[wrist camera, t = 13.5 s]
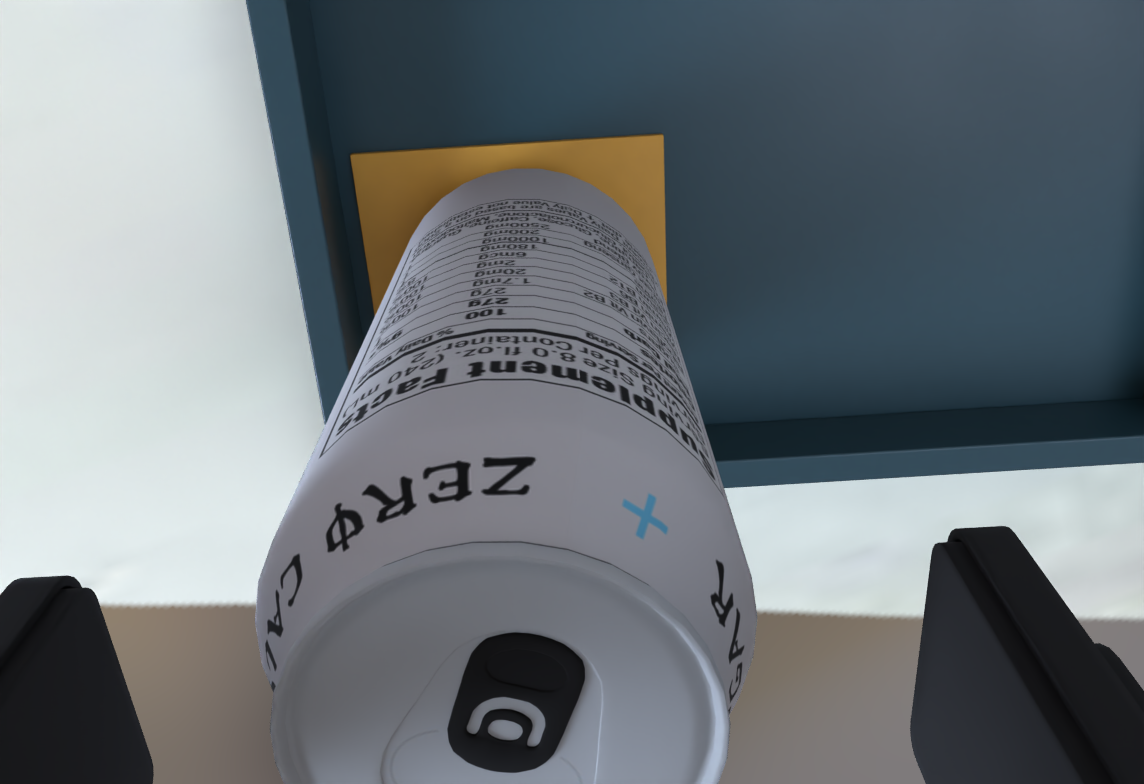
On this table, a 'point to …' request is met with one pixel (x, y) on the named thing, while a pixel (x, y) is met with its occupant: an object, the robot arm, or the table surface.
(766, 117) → the tray
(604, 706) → the energy drink can
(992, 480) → the table surface
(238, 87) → the table surface
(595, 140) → the corner tile
